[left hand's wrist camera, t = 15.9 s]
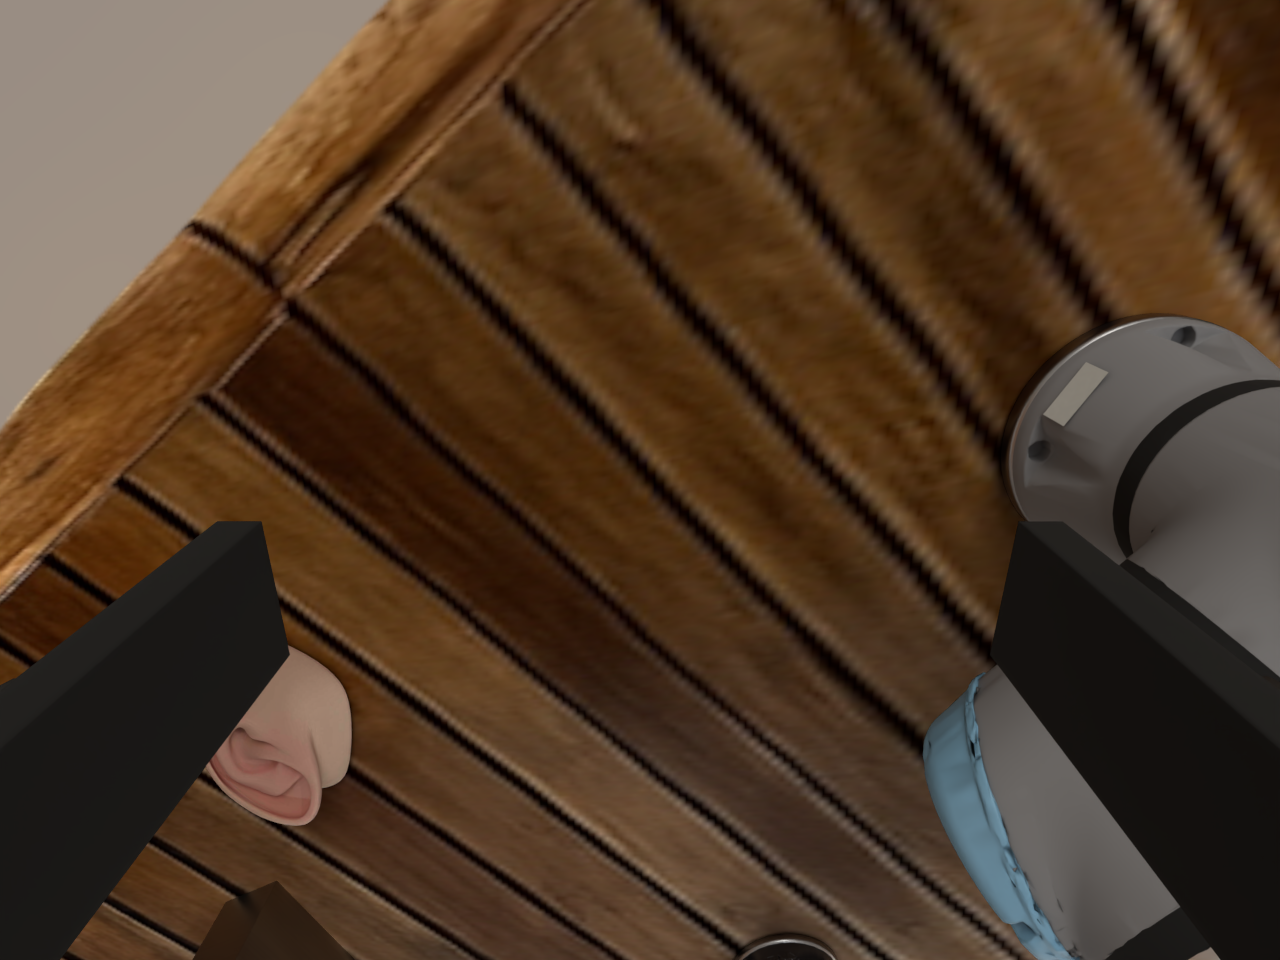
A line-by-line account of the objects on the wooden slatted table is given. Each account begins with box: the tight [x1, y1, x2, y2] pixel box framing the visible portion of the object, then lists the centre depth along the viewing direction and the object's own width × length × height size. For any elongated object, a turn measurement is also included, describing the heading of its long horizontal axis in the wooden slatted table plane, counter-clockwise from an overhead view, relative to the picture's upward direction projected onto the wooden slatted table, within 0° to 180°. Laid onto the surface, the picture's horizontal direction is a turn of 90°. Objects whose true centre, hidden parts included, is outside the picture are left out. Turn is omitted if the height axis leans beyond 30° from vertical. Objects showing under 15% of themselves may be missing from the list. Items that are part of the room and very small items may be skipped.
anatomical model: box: [206, 645, 352, 826], centre depth 51 cm, size 13×4×12 cm
